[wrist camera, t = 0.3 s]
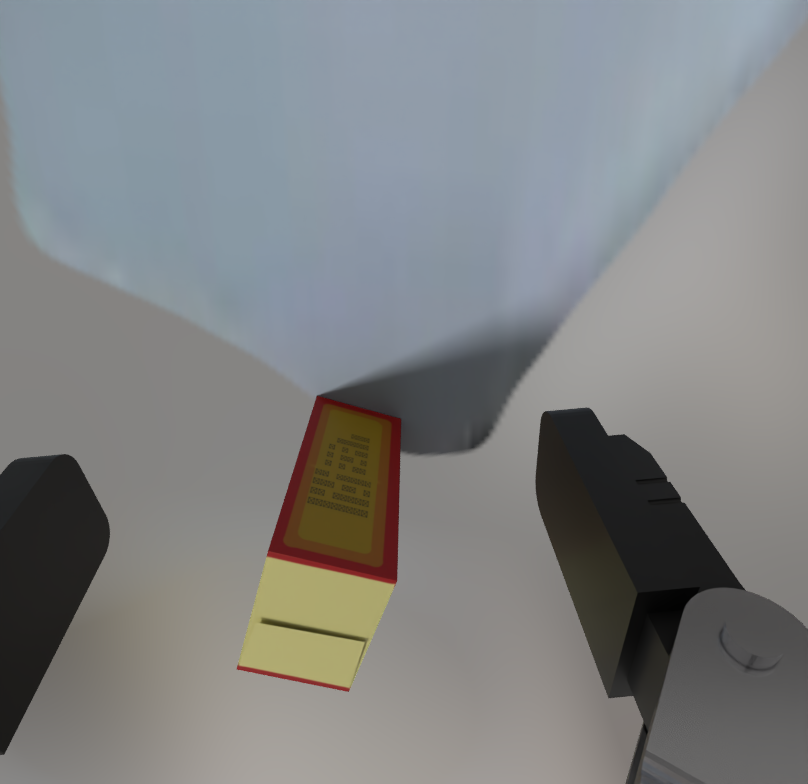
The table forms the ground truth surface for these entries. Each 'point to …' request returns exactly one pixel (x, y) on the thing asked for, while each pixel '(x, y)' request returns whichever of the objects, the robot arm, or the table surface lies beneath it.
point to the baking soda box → (330, 551)
